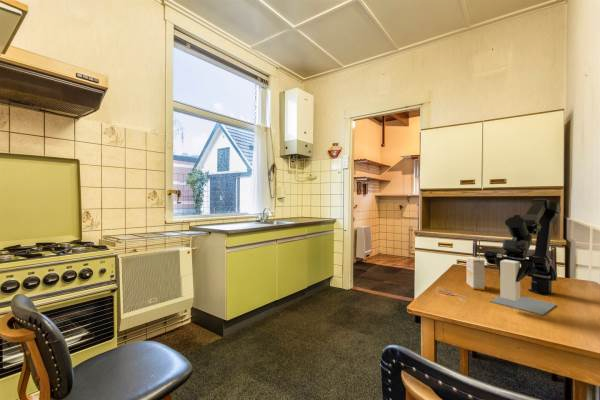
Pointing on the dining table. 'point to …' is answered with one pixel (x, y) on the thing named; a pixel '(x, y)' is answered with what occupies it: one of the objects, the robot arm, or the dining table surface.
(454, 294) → the key chain
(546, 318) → the dining table surface
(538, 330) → the dining table surface
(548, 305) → the mat
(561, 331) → the dining table surface
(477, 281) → the supplement box
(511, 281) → the block
